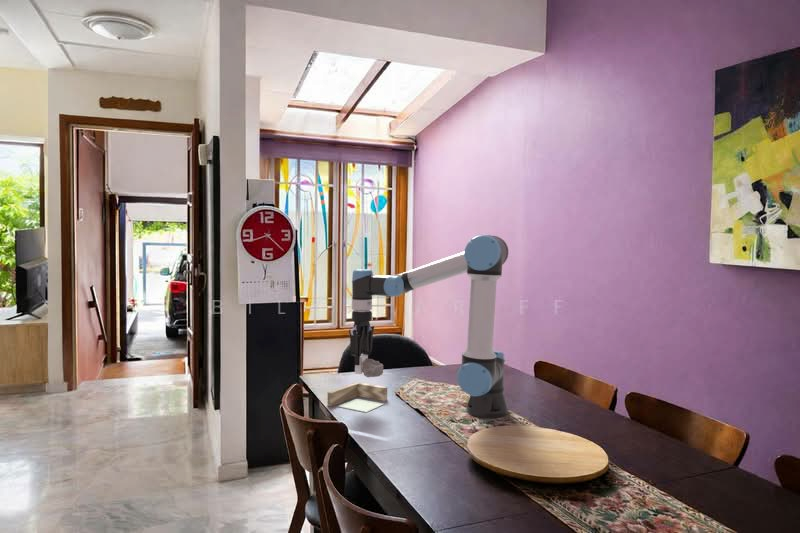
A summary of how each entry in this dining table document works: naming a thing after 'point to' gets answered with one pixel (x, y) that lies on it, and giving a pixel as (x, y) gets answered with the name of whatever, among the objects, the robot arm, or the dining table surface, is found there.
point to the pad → (361, 405)
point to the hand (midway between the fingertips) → (361, 372)
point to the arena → (356, 393)
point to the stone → (372, 368)
